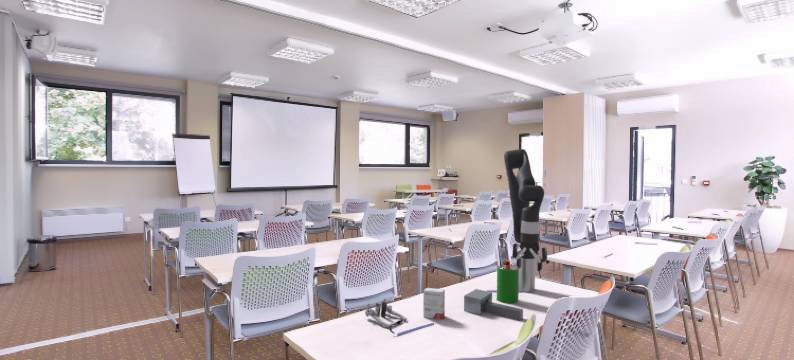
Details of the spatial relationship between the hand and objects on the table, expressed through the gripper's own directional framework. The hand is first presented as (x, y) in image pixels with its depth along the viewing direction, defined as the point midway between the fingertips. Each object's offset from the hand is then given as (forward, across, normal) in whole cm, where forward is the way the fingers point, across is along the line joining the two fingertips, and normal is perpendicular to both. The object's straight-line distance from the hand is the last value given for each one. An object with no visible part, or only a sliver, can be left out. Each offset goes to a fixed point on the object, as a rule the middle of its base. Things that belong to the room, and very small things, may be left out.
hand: (529, 269), depth 175 cm
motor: (+21, +16, -16) cm, 30 cm away
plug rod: (+21, +11, +4) cm, 24 cm away
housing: (+21, +21, +4) cm, 30 cm away
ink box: (+22, +32, +24) cm, 46 cm away
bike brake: (+22, +44, +41) cm, 64 cm away
